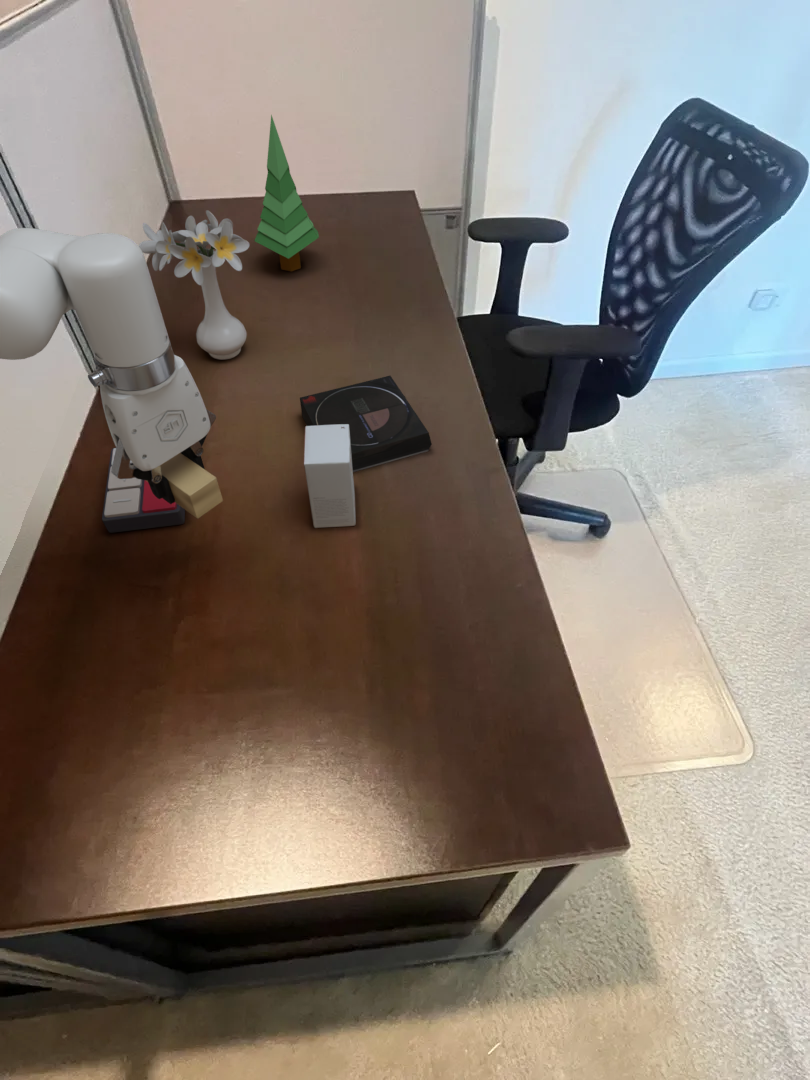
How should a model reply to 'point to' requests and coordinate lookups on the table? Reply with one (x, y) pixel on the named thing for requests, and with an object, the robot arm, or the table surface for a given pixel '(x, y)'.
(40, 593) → the table surface
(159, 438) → the robot arm
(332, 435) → the small box
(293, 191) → the decorative tree
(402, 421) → the portable cd player
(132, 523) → the calculator
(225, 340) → the flower vase
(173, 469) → the wood bar
